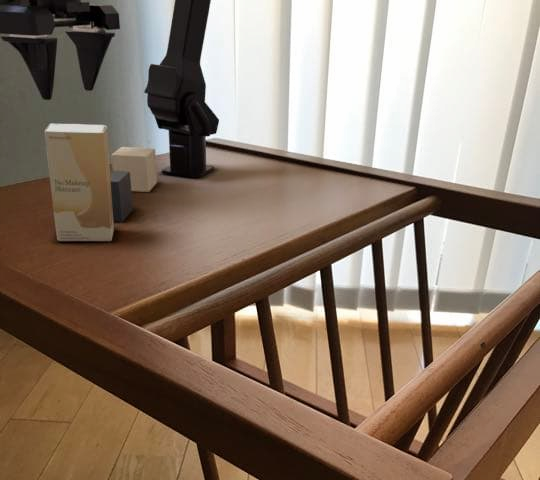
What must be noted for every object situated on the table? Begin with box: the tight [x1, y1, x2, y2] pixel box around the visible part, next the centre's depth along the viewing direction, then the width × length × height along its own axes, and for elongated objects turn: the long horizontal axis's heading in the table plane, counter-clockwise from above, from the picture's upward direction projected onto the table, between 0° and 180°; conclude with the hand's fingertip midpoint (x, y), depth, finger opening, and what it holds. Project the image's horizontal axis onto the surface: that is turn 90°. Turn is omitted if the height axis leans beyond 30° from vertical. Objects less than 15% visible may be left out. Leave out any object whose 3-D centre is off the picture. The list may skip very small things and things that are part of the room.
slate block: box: [110, 170, 134, 223], centre depth 79 cm, size 5×5×5 cm
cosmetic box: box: [44, 123, 115, 242], centre depth 70 cm, size 6×4×12 cm
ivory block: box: [110, 146, 158, 193], centre depth 91 cm, size 5×5×5 cm
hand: (68, 94), depth 81 cm, fingers open, 9 cm apart
